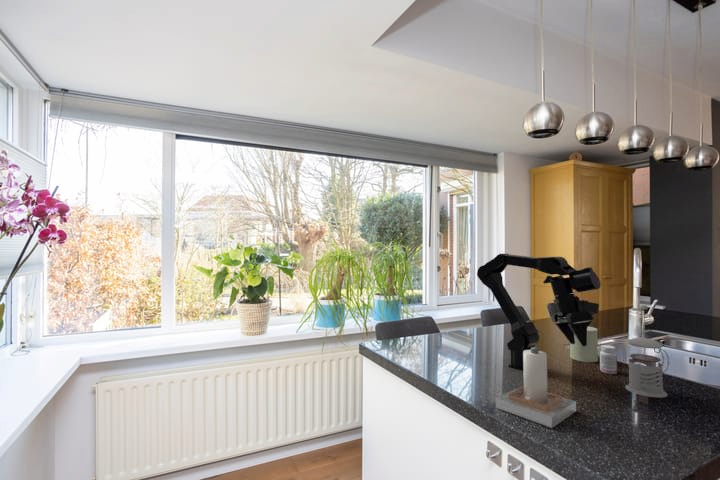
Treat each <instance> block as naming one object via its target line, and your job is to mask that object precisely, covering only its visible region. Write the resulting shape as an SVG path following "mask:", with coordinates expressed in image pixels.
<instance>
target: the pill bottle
mask: <svg viewBox="0 0 720 480" xmlns="http://www.w3.org/2000/svg"><path fill="white" fill-rule="evenodd" d="M599 370H600V371H601V372H602V373H604V374H611V375H612V374H613V375H616V374H617V373H618V355H617V353H616V347H615V346H613V345H608V344H607V345H605V344H602V345H601V346H600V352H599Z"/></svg>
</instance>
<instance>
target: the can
mask: <svg viewBox="0 0 720 480" xmlns="http://www.w3.org/2000/svg"><path fill="white" fill-rule="evenodd" d="M574 338H575V344H571V343H570V342H569V345H570V346H569V351H570V352H569V358H570V359H572V360H574V361H578V362H583V363H596V362H599V349H598V348H599V347H598V346H599V345H598V342H599V341H598V328H596V327H593V326H588V327H587V346H582V345H581V343H580V342H579V340H578V339H577V337H576V336H575V334H574Z"/></svg>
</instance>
